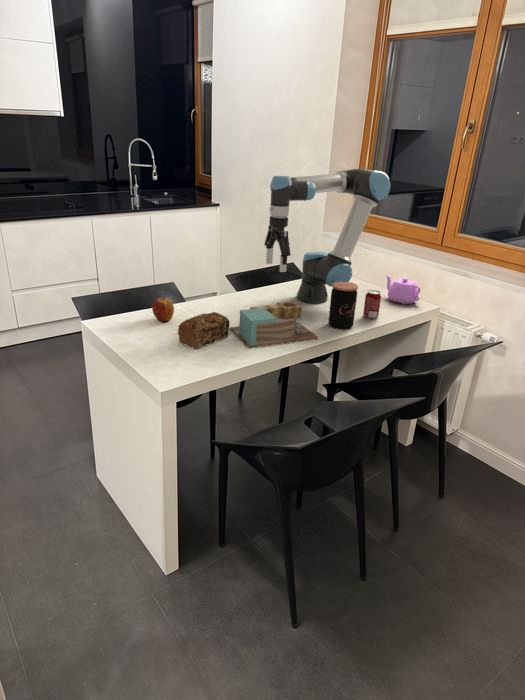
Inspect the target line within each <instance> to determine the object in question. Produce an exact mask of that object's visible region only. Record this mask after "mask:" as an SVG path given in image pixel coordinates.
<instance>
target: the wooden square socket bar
mask: <svg viewBox="0 0 525 700" xmlns="http://www.w3.org/2000/svg"><path fill="white" fill-rule="evenodd" d="M257 308H264V309H265V310H267V311H268V312H269V313H270V314H272V315H273V316H274V317H276V320H277V319H283V320H293V319H299V318H301V317H302V306H301V305H299V304H298V303H296V302H295V301H291V300H290V301H283V302H281V301H280V302H277V304H269V305H260V306H259V305H258V306H251V307H249V309H257Z"/></svg>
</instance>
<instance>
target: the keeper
mask: <svg viewBox="0 0 525 700" xmlns="http://www.w3.org/2000/svg"><path fill="white" fill-rule="evenodd" d="M270 322H277V319H276V317H274V316H273V315H272V314H270V313H269V312H268V311H267V310H265V309H264V308H257V309H250V308H249V309H241V310H240V309H239V323H238V324H239V325H238V326H239V334H240V335H241V336H242V337H243V338H244V339H245V340H246V341H247V342H248V343H249V344H250V345H251V346H253V345H256V327H257V324H262V323H270ZM253 347H254V346H253Z"/></svg>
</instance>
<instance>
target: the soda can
mask: <svg viewBox="0 0 525 700" xmlns="http://www.w3.org/2000/svg"><path fill="white" fill-rule="evenodd" d="M381 300H382V295H381V291H379V290H378V289H377V290H375V289H369V290H367V293H365V299H364V305H363V314H362V315H363V317H365V318H366V319H368V320H374V319H377V318H379V313H380V306H381Z"/></svg>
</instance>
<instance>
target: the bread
mask: <svg viewBox="0 0 525 700" xmlns="http://www.w3.org/2000/svg"><path fill="white" fill-rule="evenodd" d="M230 323H231V322H230V319H229V318H228V317H227V316H225V315H223V314H221V313H219V312H216V311H215V312H214V311H213V312H209V313H201V314H199V315H198V314H197V315H195V316H193V317H191V318H188V319H185V320H183V321H182V322H181V323H180V324H179V325H178V327H177V328H178V330H177V335H178V341H179V342H180V343H181V344H182V343H183V344H182V345H184V344H186V345H188V346H187V347H189V346H190V347H189V348H191V347H193V348H195V349H196V348H197V349H200V348H201V347H205V345H206V346H208V345H207V344H209V345H211V344H214V343H216V342H215V341H217V342H219V341H220V340H222V339H224V338H227V337H228V336H229V335H230V334H229V332H230V327H231V326H230ZM218 340H219V341H218ZM213 342H214V343H213ZM210 343H211V344H210ZM186 345H185V346H186ZM193 348H192V349H193ZM195 349H194V350H195Z"/></svg>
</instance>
